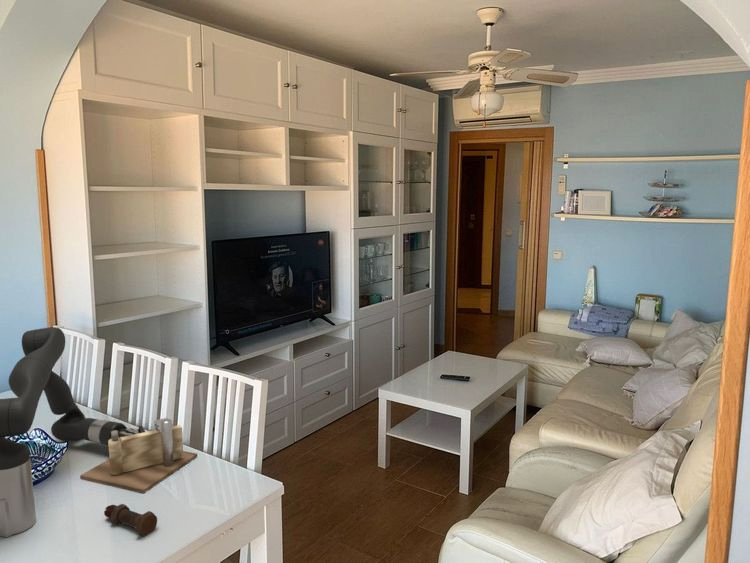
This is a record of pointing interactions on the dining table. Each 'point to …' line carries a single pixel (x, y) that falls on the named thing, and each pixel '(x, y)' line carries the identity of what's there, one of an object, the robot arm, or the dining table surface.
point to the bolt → (132, 518)
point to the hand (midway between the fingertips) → (150, 441)
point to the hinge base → (135, 473)
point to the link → (142, 450)
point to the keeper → (166, 440)
